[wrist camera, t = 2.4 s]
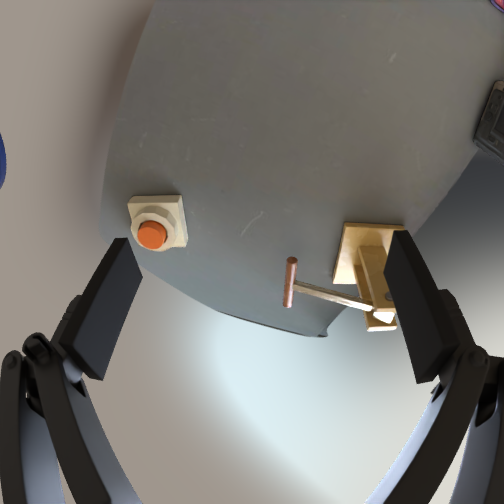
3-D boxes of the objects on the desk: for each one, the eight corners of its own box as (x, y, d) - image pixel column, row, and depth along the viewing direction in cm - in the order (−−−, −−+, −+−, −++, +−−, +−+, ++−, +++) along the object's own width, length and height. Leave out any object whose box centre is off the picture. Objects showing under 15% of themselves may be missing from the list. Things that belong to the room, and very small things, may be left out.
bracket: (331, 278, 52) (342, 345, 41) (344, 222, 44) (364, 289, 34) (384, 279, 51) (403, 342, 41) (402, 225, 44) (434, 288, 33)
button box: (142, 237, 48) (134, 253, 45) (132, 195, 43) (122, 210, 40) (188, 238, 48) (182, 254, 45) (181, 194, 43) (174, 209, 40)
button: (144, 241, 44) (140, 249, 43) (138, 220, 42) (134, 227, 40) (168, 242, 44) (165, 250, 43) (164, 220, 41) (160, 227, 40)
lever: (285, 297, 47) (280, 308, 45) (289, 253, 41) (284, 264, 39) (384, 325, 42) (382, 337, 40) (404, 283, 36) (403, 296, 35)
